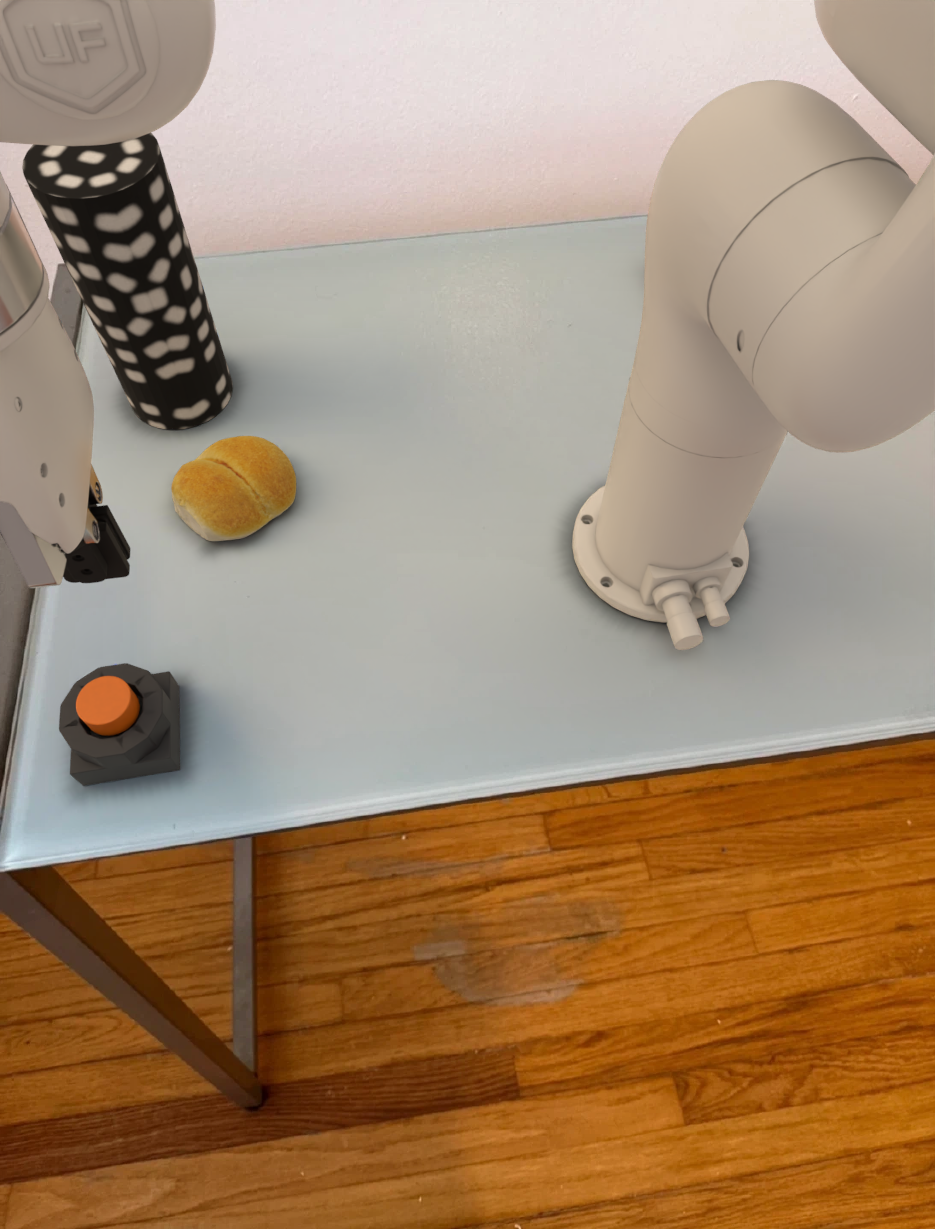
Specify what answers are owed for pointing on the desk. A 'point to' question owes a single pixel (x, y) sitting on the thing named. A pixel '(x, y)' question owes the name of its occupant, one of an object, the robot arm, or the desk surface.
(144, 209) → the spotted tube
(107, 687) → the button
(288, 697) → the desk surface
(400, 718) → the desk surface
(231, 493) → the bread roll
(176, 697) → the control block
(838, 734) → the desk surface
